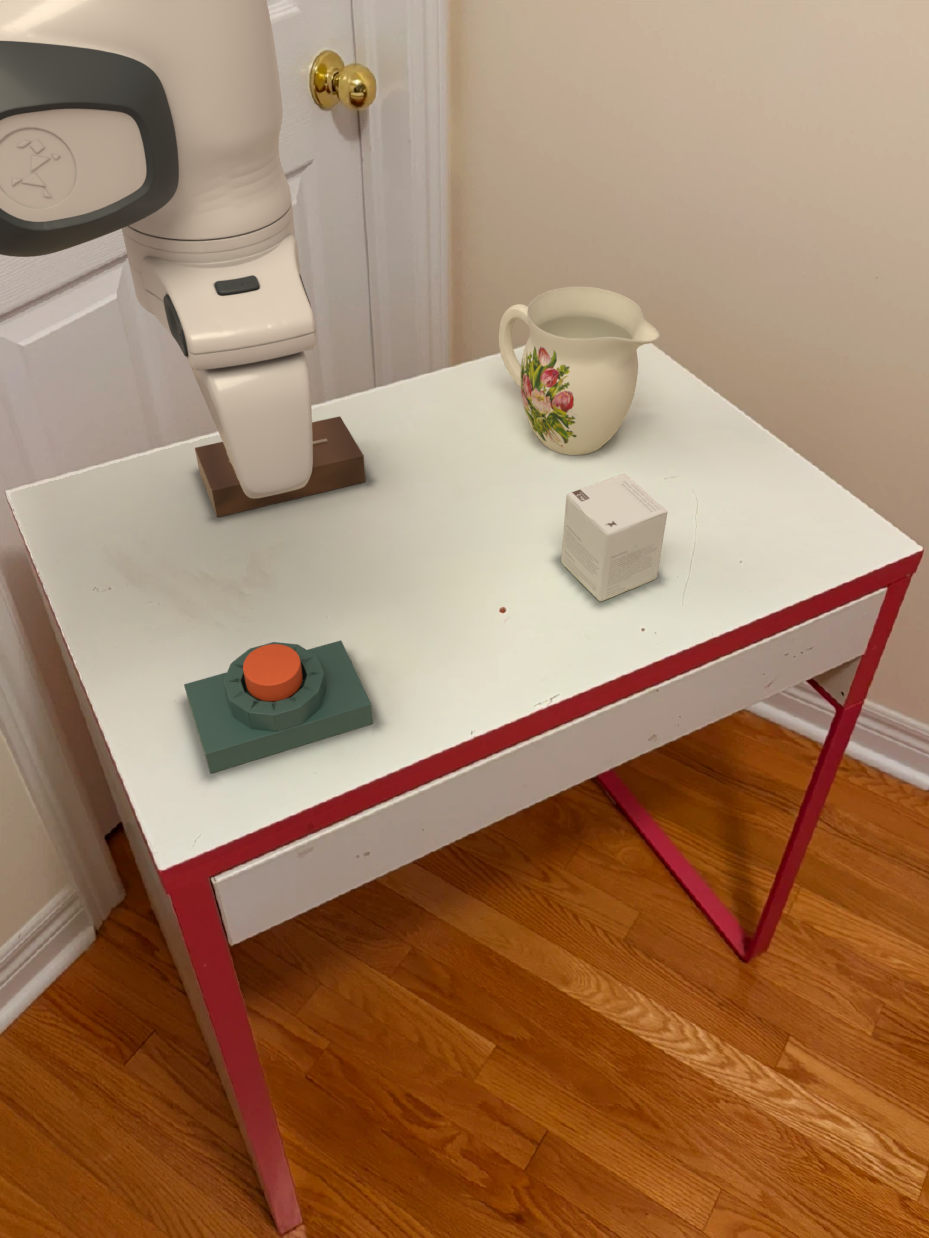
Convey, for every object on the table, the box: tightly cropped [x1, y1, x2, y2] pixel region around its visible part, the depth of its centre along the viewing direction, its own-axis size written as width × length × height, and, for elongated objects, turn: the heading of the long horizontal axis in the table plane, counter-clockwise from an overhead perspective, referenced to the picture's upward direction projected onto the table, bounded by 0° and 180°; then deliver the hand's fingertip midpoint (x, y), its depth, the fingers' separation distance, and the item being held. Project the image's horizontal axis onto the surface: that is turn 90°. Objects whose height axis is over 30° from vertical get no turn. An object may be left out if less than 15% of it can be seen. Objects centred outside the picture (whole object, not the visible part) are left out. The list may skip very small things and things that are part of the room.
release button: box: [243, 644, 303, 702], centre depth 74 cm, size 4×4×2 cm
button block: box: [183, 640, 374, 774], centre depth 76 cm, size 12×7×4 cm, turn 113°
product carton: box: [560, 473, 668, 602], centre depth 87 cm, size 6×6×7 cm
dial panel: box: [194, 415, 366, 518], centre depth 97 cm, size 14×9×3 cm, turn 113°
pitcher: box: [498, 285, 661, 456], centre depth 99 cm, size 11×18×14 cm, turn 45°
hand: (247, 468), depth 66 cm, fingers closed
